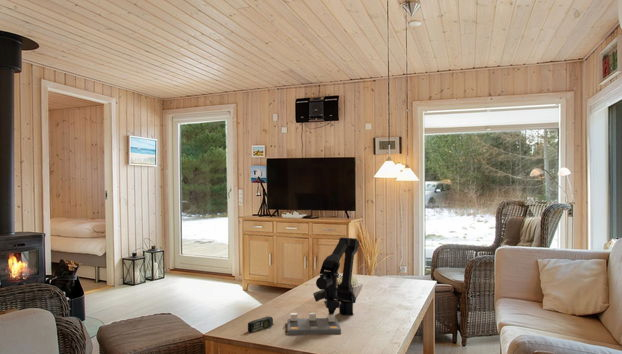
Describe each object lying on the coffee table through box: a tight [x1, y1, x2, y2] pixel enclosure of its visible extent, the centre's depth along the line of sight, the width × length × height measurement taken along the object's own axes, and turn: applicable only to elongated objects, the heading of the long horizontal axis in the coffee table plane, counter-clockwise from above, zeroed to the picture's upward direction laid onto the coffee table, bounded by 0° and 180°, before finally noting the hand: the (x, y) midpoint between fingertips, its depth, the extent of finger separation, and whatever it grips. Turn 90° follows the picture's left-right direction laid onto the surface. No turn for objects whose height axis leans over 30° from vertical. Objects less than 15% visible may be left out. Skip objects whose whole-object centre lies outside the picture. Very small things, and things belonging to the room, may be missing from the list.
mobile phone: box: [247, 316, 275, 334], centre depth 199 cm, size 5×3×15 cm
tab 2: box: [327, 313, 336, 322], centre depth 204 cm, size 3×2×3 cm
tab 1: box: [290, 312, 298, 321], centre depth 205 cm, size 3×2×3 cm
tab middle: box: [308, 312, 317, 321], centre depth 206 cm, size 3×2×3 cm
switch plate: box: [286, 317, 342, 336], centre depth 201 cm, size 24×16×2 cm, turn 94°
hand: (330, 317), depth 207 cm, fingers closed
